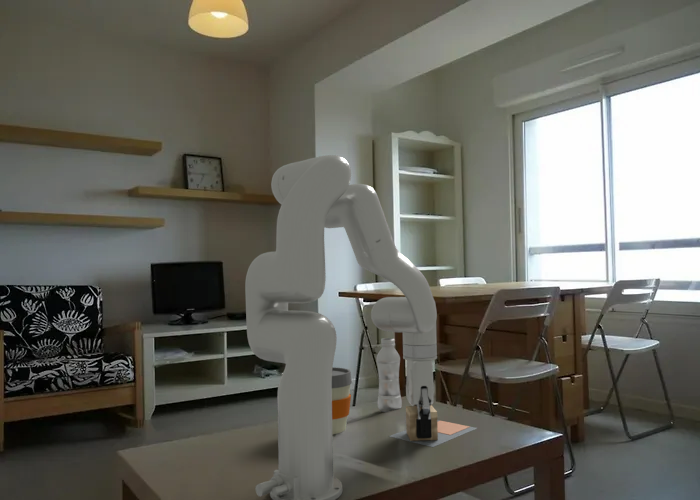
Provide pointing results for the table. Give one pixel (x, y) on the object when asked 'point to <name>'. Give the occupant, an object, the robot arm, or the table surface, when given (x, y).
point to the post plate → (439, 433)
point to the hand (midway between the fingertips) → (421, 432)
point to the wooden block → (411, 423)
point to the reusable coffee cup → (340, 398)
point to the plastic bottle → (388, 376)
